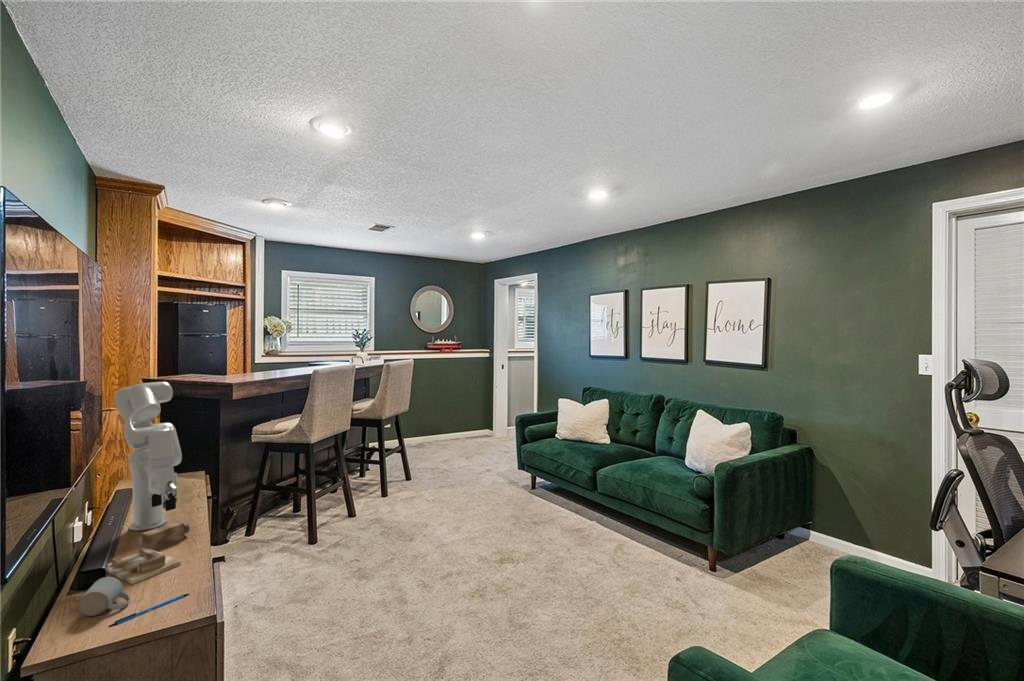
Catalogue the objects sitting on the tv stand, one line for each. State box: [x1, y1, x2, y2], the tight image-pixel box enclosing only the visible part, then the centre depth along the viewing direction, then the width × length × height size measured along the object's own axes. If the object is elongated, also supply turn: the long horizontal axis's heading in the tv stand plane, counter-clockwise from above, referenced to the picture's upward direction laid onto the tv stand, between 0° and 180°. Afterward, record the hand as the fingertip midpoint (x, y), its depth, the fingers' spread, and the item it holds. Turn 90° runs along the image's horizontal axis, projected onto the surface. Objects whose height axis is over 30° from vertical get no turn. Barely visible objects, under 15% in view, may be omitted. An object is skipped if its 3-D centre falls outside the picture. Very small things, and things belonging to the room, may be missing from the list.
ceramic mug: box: [78, 576, 131, 617], centre depth 137 cm, size 11×8×8 cm
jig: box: [107, 547, 182, 585], centre depth 160 cm, size 20×14×4 cm
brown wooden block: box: [141, 520, 190, 551], centre depth 179 cm, size 14×4×6 cm, turn 152°
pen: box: [108, 593, 190, 628], centre depth 136 cm, size 1×19×1 cm, turn 143°
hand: (163, 507), depth 177 cm, fingers open, 9 cm apart
